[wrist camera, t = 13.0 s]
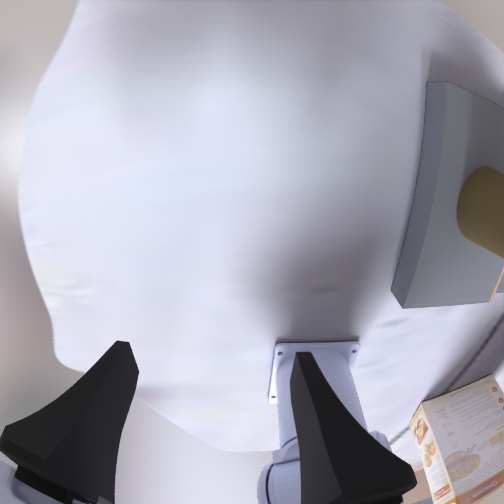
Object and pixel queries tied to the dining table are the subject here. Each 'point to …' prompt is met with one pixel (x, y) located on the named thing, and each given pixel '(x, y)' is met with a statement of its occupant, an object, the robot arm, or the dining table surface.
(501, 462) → the coffeecake box
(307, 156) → the dining table surface
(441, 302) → the stepped stand
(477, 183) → the cork
